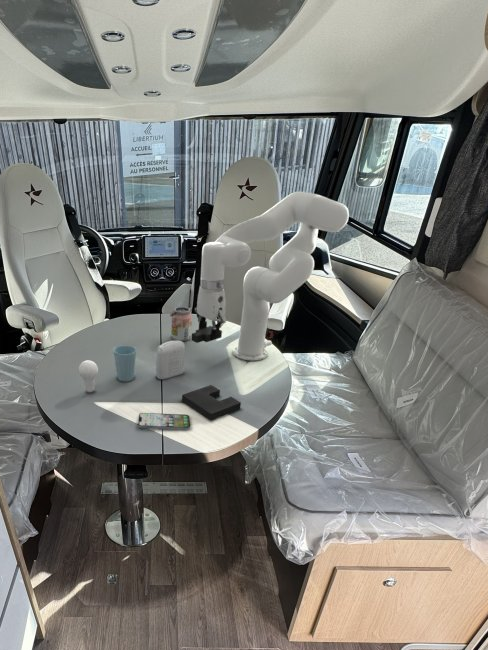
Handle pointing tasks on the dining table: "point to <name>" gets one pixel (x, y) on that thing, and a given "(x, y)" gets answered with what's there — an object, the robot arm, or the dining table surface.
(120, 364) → the cup
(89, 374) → the lightbulb
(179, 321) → the beverage can
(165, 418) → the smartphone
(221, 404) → the base pad
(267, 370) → the dining table surface
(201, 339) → the tab pad
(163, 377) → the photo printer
